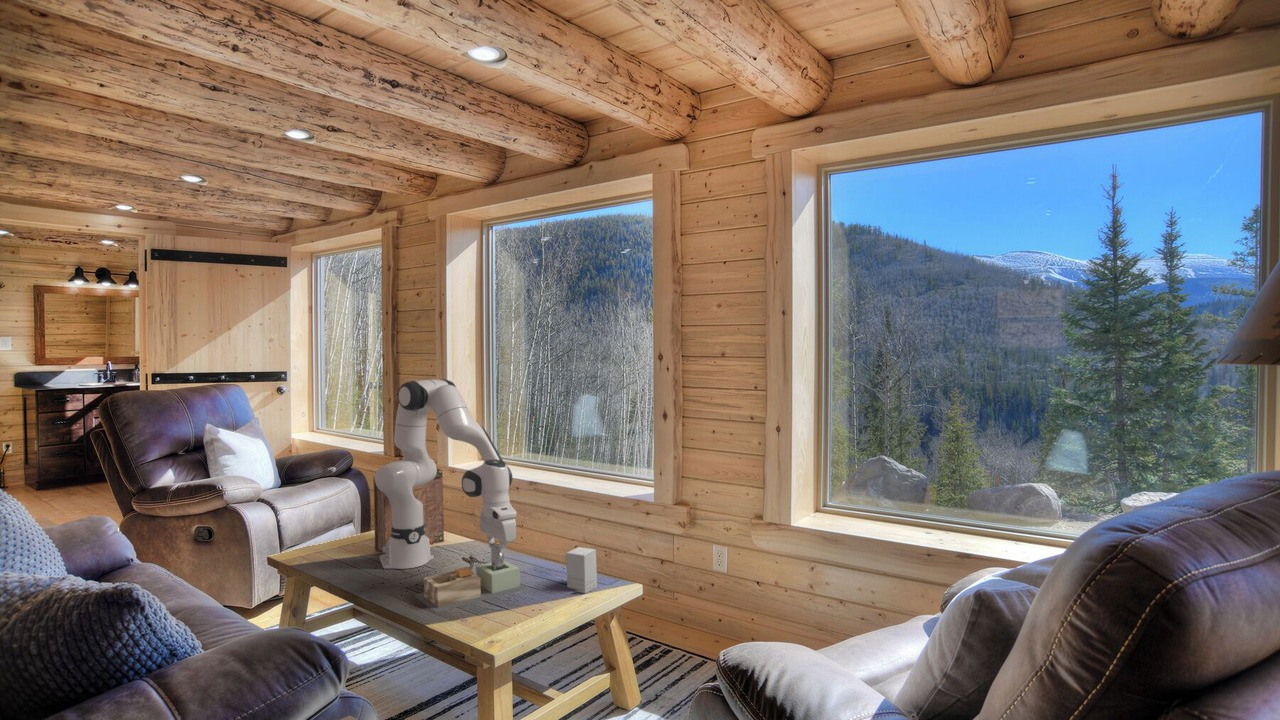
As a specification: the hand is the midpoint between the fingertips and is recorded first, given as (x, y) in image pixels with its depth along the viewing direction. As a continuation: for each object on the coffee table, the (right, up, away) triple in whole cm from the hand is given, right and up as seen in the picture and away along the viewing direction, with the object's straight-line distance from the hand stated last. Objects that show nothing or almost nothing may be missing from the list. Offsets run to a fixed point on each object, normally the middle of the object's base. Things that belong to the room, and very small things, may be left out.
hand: (497, 550), depth 226 cm
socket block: (-12, -12, -10) cm, 20 cm away
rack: (0, -12, 0) cm, 12 cm away
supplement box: (+28, -12, -2) cm, 31 cm away
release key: (-9, -10, -7) cm, 15 cm away
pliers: (-14, -13, +25) cm, 31 cm away
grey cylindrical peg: (0, -11, 0) cm, 11 cm away
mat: (-7, -13, -6) cm, 16 cm away
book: (-46, -13, +50) cm, 69 cm away
